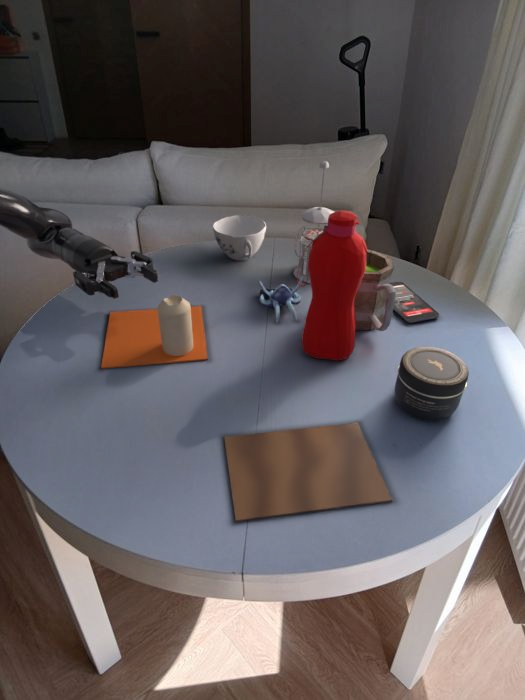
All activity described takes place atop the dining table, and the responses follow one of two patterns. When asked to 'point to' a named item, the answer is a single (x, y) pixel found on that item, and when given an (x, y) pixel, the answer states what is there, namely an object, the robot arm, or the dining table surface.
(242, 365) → the dining table surface
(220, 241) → the teacup
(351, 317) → the water bottle
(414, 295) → the smartphone
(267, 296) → the figurine
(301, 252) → the french press
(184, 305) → the candle
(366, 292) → the mug
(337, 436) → the brown flat board
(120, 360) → the towel
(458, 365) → the jar
